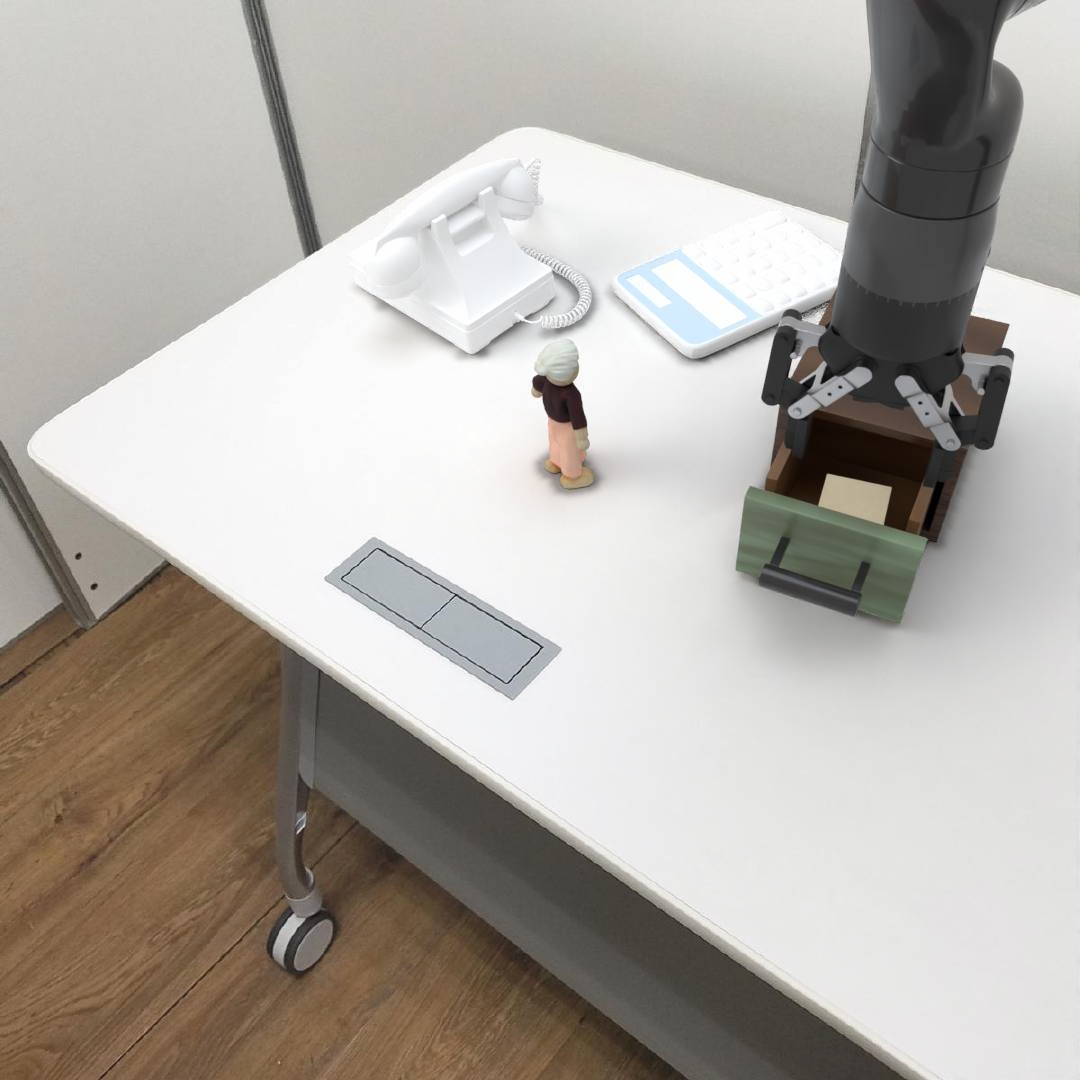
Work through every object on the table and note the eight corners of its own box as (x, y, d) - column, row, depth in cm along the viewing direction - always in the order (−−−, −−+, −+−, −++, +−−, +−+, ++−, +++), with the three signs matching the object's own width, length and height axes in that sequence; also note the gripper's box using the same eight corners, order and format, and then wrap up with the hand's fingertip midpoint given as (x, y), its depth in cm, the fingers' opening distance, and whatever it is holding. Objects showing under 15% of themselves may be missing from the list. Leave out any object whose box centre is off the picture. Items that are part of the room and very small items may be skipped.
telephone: (505, 193, 115) (495, 78, 106) (656, 268, 105) (660, 148, 96) (318, 305, 104) (289, 188, 95) (468, 401, 94) (451, 280, 85)
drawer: (883, 671, 73) (906, 599, 67) (714, 614, 77) (722, 541, 71) (944, 492, 83) (969, 416, 77) (792, 450, 87) (804, 374, 81)
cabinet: (936, 542, 81) (968, 449, 74) (766, 492, 85) (780, 399, 78) (978, 418, 89) (1010, 323, 82) (821, 377, 94) (838, 284, 86)
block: (880, 529, 80) (892, 486, 76) (870, 575, 77) (881, 533, 73) (818, 516, 81) (827, 473, 77) (806, 560, 78) (814, 518, 75)
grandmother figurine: (616, 479, 87) (615, 354, 78) (581, 504, 86) (576, 380, 76) (551, 432, 91) (543, 308, 82) (516, 455, 90) (504, 331, 80)
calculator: (866, 286, 102) (869, 268, 100) (690, 365, 96) (691, 348, 94) (774, 220, 109) (776, 203, 108) (606, 290, 103) (606, 273, 102)
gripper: (769, 273, 60) (744, 479, 72) (1044, 320, 56) (968, 530, 68) (799, 200, 65) (771, 406, 77) (1055, 240, 61) (982, 449, 73)
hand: (864, 464), depth 73 cm, fingers open, 8 cm apart
